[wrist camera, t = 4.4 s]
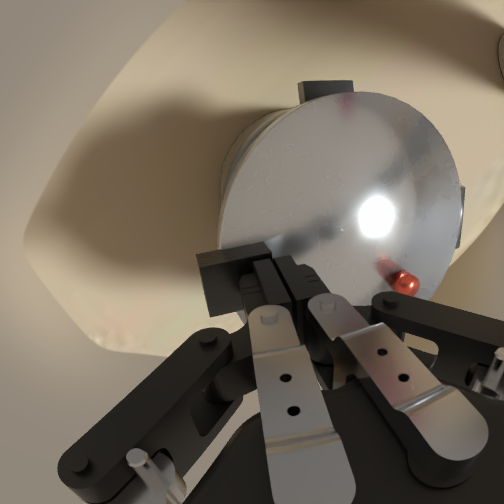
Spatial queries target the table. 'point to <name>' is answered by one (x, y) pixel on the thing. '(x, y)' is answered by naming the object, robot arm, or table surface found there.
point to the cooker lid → (341, 202)
